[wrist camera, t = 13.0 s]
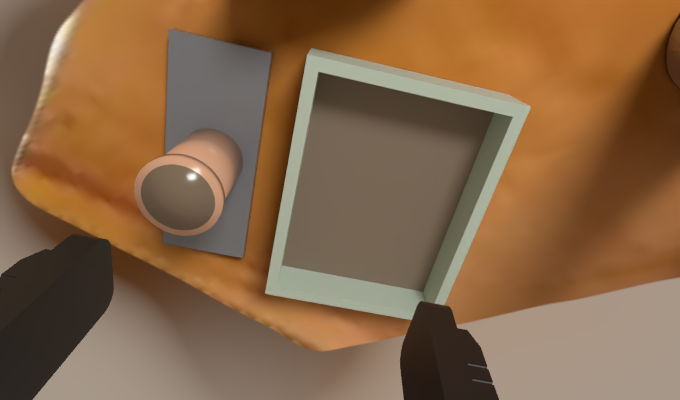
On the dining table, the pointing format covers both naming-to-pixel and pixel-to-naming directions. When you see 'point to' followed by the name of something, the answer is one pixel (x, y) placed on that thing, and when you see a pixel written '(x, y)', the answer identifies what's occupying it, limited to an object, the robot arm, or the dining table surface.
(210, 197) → the clay pot
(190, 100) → the slate tile
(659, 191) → the dining table surface
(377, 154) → the pale green tray
